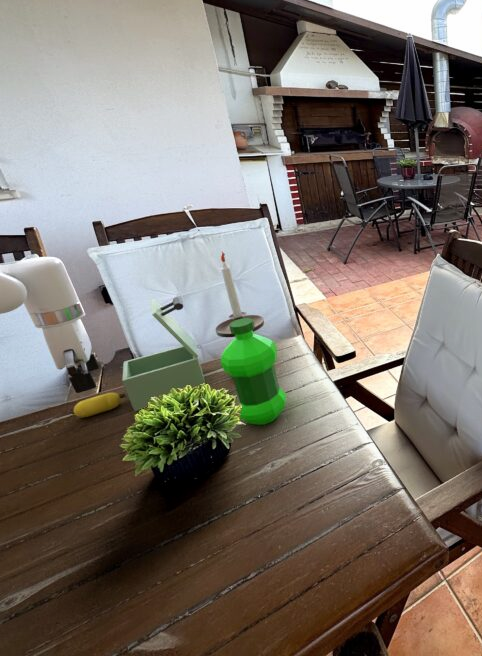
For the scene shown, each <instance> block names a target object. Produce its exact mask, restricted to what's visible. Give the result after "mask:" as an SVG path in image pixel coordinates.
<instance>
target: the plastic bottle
mask: <svg viewBox="0 0 482 656" xmlns="http://www.w3.org/2000/svg"><path fill="white" fill-rule="evenodd" d="M229 326H230V330H231V333H232V334H234V335H235V337H234V339H233V340H232V341H230V343H229V344H228V345H227V346H226V347H225V348H224V350H223V352H222V354H221V357H220V365H221V368H222V370H223V371H224V373H227V374H228V375H229V376H231V377H232V379H233V383H234V387H235V390H236V395H237V397H238V400H239V402H238V404H237V406H238V405H239V404H241V405H242V410H241V415H240V417H239V418H240V419H241V420H242V421H244V422H246V423H247V424H250V425H256V426H261V425H266V424H269V423H271V422H273V421H274V420H276V419H277V418H278V416H279V415H280V414H281V413H282V412H283V411H284V410H285V407H286V402H287V394H286V392H285V391H284V390H283V388H281V387H280V386H279V381H278V376H277V372H276V368H275V363H276V361H277V357H278V348H277V344H276V343H275V342H274V341H273V340H272V339H270V338H267V337H265V336H262V335H260V334H256V333H254V332H253V330H254V327H255V326H254V322H253V319H251V318H242V319H238V320H235V321H233V322H231V323H230V325H229Z"/></svg>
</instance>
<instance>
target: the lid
mask: <svg viewBox="0 0 482 656" xmlns="http://www.w3.org/2000/svg"><path fill="white" fill-rule="evenodd" d="M150 306H151V307H150V308H151V315H152V316H153V318H155V319H156V320H157V322H158V323H160V324H161V325H162V327H164V328H165V330H166V331H167V332H168V333H169V334H171V335H172V336H173V338H174V339H176V341H177V342H179V344H180V345H181V346H184V347H185V348H186V349H187V350H188V351H189V352H190V353H191V354H192V355H193V356H194V357H195V358H197V357H198V358H199V352H198V347H197V345H196V341H195V339H194V338H193V337H192V336H191V335H190V334H189V333H188V332H187V331H186V330H185V328H183V327H182V325H180V323H179V322H178V321H177V320H176V319H175V318H174V317H173V316H172V315H171V314H170V313H173V311H181V310H183V308H184V303H183V299H182V297H179V296H176V297H174V298H172V301H171V302H169V303H167V304H164V305H163V306H162V305H161V304H160V302H158V300H156V298H153V299H151V300H150Z"/></svg>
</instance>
